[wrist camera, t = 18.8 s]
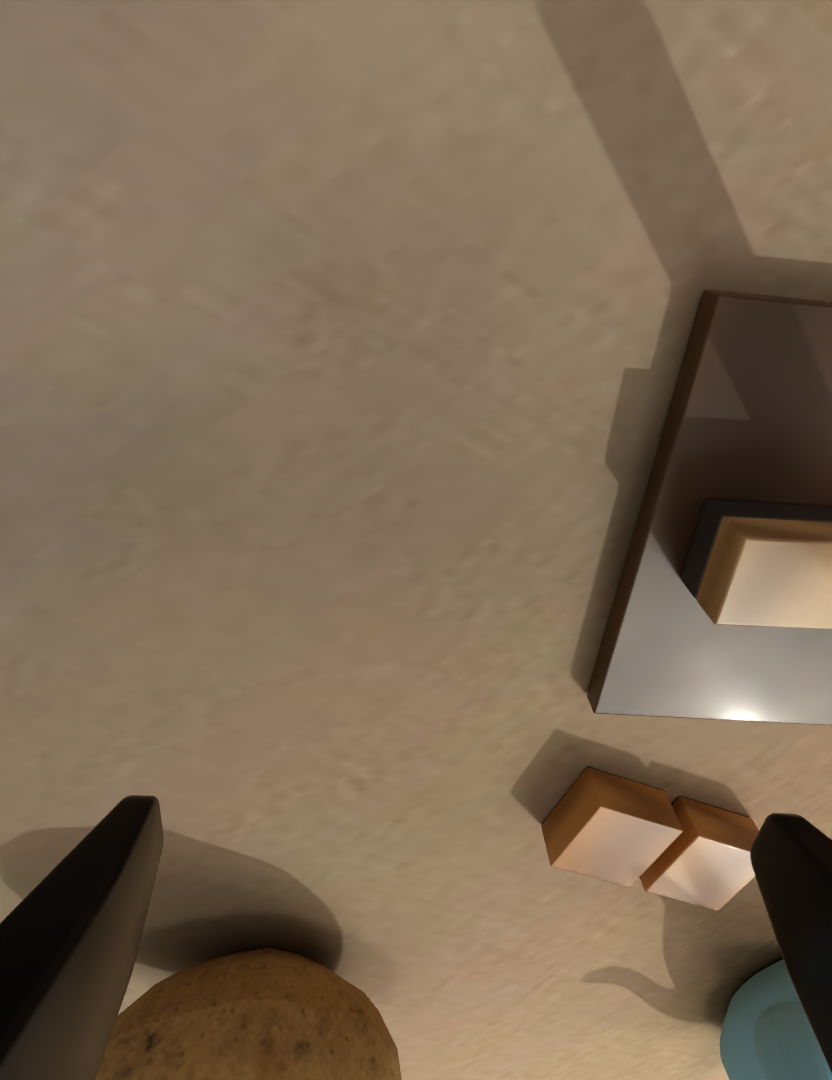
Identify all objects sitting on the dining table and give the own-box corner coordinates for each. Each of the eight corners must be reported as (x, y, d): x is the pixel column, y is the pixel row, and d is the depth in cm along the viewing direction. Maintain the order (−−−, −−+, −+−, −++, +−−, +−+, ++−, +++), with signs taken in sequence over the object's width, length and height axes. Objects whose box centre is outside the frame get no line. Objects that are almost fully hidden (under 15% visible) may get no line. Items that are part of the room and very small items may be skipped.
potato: (138, 887, 30) (59, 1102, 23) (425, 931, 32) (434, 1137, 25) (119, 998, 34) (48, 1206, 27) (373, 1029, 36) (369, 1228, 29)
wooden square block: (629, 850, 30) (644, 891, 28) (679, 795, 28) (698, 835, 26) (699, 870, 30) (718, 911, 29) (752, 818, 29) (775, 858, 27)
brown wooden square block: (540, 825, 29) (550, 866, 27) (586, 766, 27) (600, 806, 25) (615, 846, 29) (630, 888, 28) (665, 790, 28) (683, 831, 26)
